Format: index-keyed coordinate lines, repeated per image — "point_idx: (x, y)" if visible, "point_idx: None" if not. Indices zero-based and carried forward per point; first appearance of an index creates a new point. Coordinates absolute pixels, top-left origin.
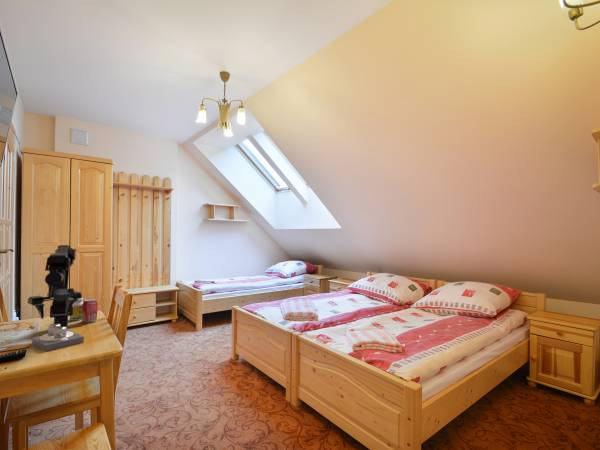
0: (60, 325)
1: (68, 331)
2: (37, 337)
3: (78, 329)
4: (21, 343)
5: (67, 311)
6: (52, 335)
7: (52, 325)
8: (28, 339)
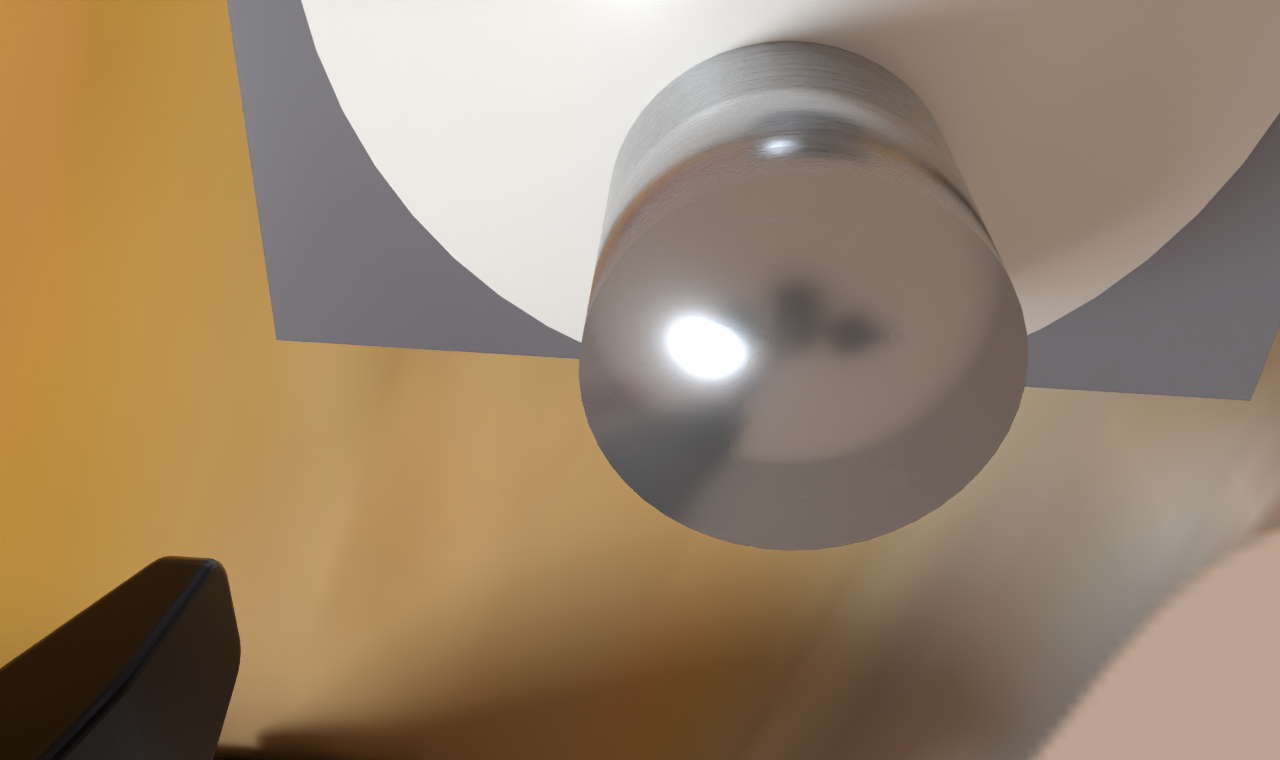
0: (614, 251)
1: (365, 119)
2: (1167, 326)
3: (26, 550)
4: (1272, 504)
5: (98, 701)
6: (901, 69)
7: (881, 379)
8: (1025, 647)
